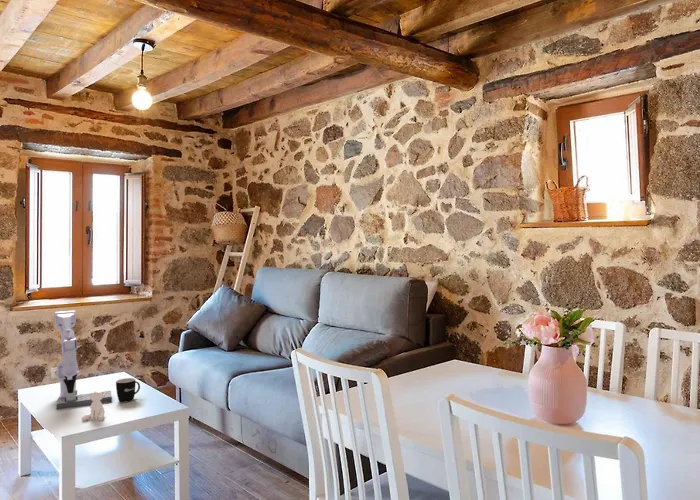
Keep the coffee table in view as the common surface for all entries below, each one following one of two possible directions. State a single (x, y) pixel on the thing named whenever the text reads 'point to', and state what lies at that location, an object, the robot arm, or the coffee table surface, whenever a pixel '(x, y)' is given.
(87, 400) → the panel
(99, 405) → the seated beast figurine
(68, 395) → the plug
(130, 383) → the mug
